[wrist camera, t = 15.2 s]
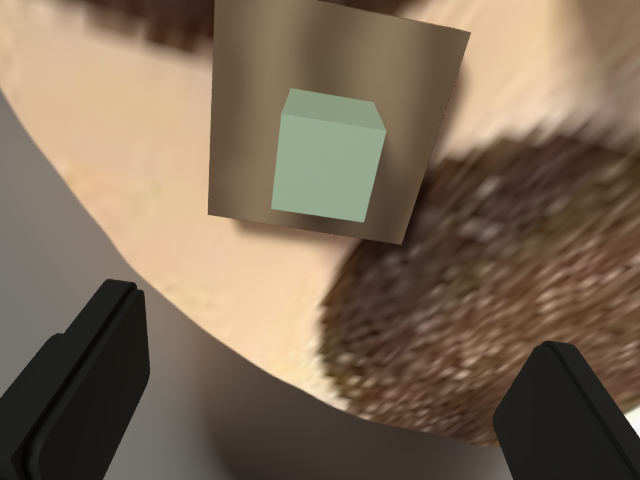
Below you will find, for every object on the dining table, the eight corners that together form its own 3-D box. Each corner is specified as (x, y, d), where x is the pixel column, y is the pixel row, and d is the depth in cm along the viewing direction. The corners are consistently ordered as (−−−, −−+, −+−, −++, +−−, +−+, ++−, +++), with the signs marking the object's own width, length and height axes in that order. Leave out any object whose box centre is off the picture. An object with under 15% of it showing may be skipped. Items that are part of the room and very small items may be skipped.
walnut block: (451, 27, 26) (471, 32, 22) (393, 218, 33) (401, 244, 30) (230, -18, 25) (215, -19, 21) (220, 190, 32) (207, 214, 28)
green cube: (373, 102, 24) (386, 130, 19) (356, 178, 27) (363, 222, 22) (290, 88, 24) (281, 113, 19) (281, 167, 26) (271, 208, 21)
